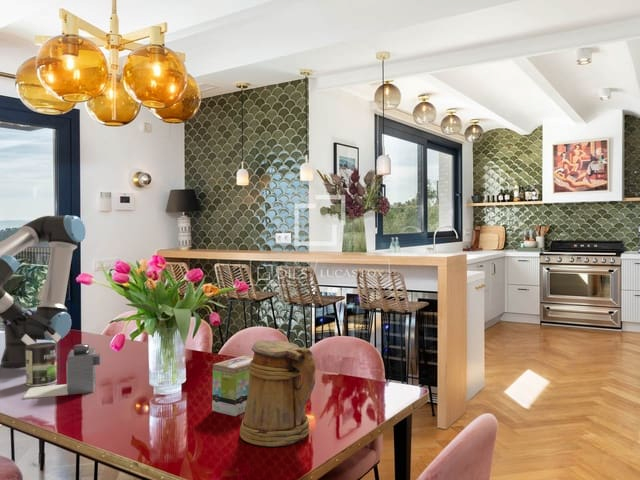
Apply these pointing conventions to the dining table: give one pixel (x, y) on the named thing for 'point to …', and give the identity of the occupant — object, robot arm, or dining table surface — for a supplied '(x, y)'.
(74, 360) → the motor block
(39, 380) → the coffee can
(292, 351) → the tankard
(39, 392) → the mount pad
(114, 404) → the dining table surface
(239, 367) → the tea box
